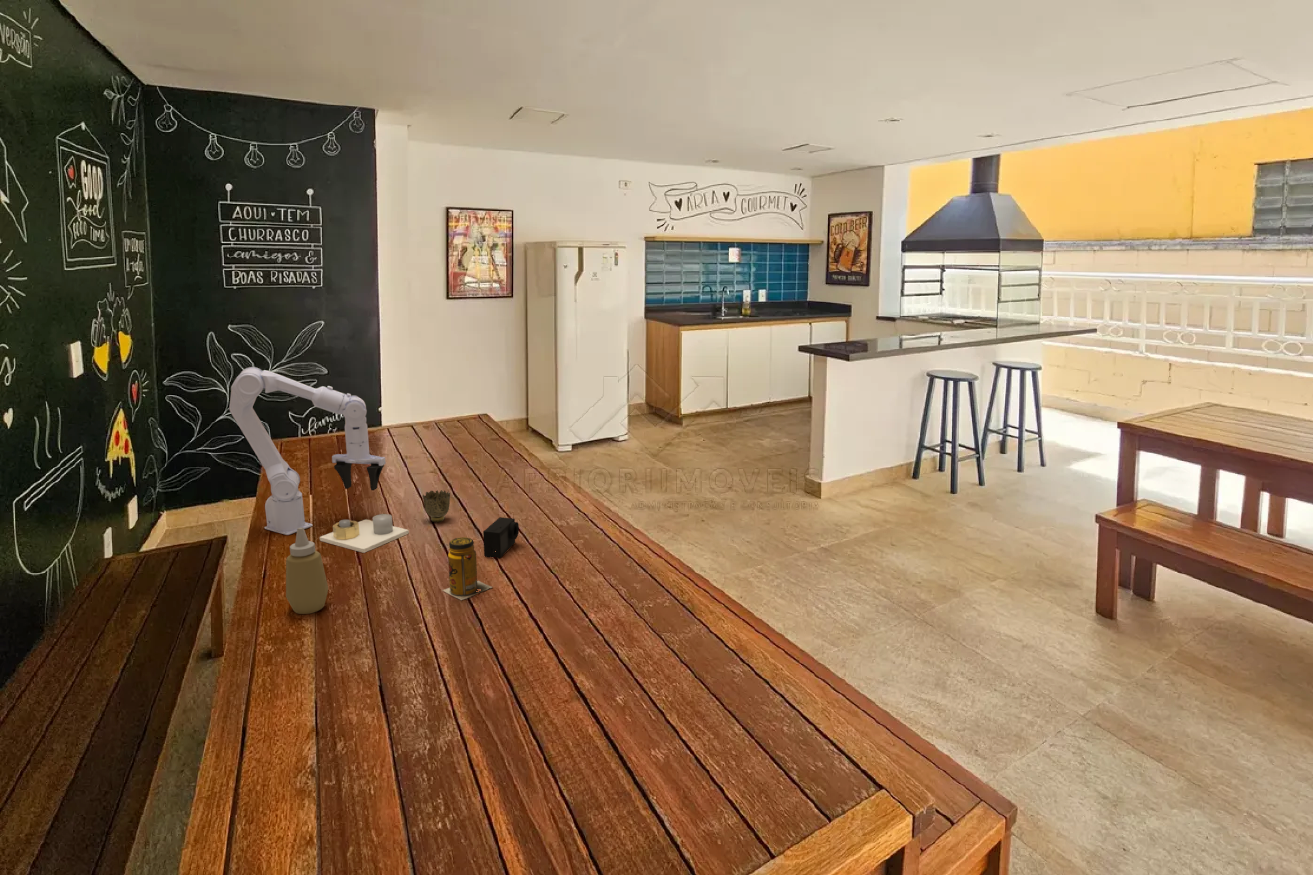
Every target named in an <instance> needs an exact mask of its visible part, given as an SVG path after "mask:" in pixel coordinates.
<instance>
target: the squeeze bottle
mask: <svg viewBox="0 0 1313 875" xmlns="http://www.w3.org/2000/svg"><path fill="white" fill-rule="evenodd" d="M289 553H290V554H289V555H288V556H287V557H286V559H285V598H286V600H287V601H288V604H289V605H290V606H291V608H292V610H293V612H294V613H296V614H299V615H305V614H306V615H308V614H313V613H316V612H318V611H320V610H322V609H323V608H324V607H325V603H326V599H327V596H328V592H329V586H328V585H329V584H328V581H327V576H326V572H325V568H324V564H323V558H322V555H321V553H320V552H319V551H317V550H316V544H315V542H313V541H311V540H309V539H308V536H307V534H306V530H305V529H304V528H302V527H301V528H298V529H297V532H296V536H295V543H292V544H291V545H289Z"/></svg>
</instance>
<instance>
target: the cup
mask: <svg viewBox="0 0 1313 875" xmlns="http://www.w3.org/2000/svg"><path fill="white" fill-rule="evenodd" d="M422 500H423V505H424V509H425V510H424V511H425V513H426V514H427V515H428V516H429V517H430V520H431V522H434V523H441V522H443V521H445V516H446V515H447V514H448V512H449V510H450V503H451V502H450V501H451V492H449V491H446V490H443V489H441V490H440V491H439V490H436V491H434V490H430V491H426V492H425V495H424V494H422Z"/></svg>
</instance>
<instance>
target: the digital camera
mask: <svg viewBox="0 0 1313 875" xmlns="http://www.w3.org/2000/svg"><path fill="white" fill-rule="evenodd" d="M519 526H520V525H519V523H518V521H516V520H515V518H511V517H498V518H496V520H494V522H493V523H491V524H490V525H489V526H487V528H486V529H485V530H483V531H482V532H483V557H484V556H485V557H484V558H490V557H496V558H495V559H501V558H502V557H503V556H504V555H505V554H506V553H507V552H508V551H509V550H510V549H511V548H512V547H513V546H514V545H515V544H516V539H517V538H518V535H519V532H520V527H519ZM514 543H515V544H514ZM513 544H514V545H513ZM512 545H513V546H512ZM511 546H512V547H511ZM510 547H511V548H510ZM509 548H510V549H509ZM508 549H509V550H508ZM507 550H508V551H507ZM495 551H496V552H495ZM506 551H507V552H506ZM505 552H506V553H505ZM504 553H505V554H504ZM503 554H504V555H503Z"/></svg>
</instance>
